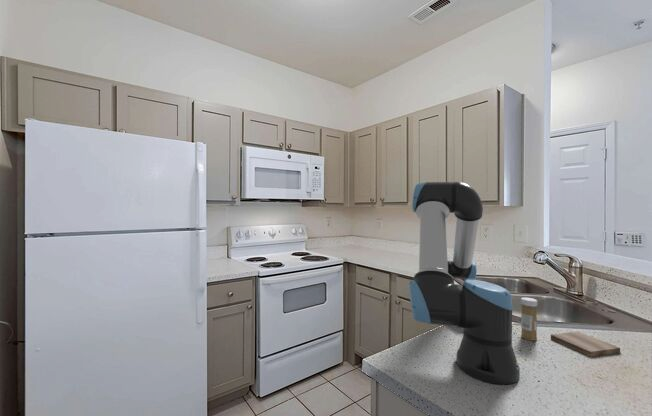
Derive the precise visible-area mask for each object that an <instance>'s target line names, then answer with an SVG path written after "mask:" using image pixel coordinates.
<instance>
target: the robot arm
mask: <svg viewBox="0 0 652 416" xmlns="http://www.w3.org/2000/svg"><path fill="white" fill-rule="evenodd" d="M411 206H412V212H414V213H416V217H417V218H419V254H418V255H419V259H418V260H419V261H418V271H417V272H416V273H415V274H414V276H413V279H412V280H408V289H409V299H410V311H411V317H412V318H413V319H414V320H415V321H416V322H419V323H424V324H428V325H439V326H446V327H447V326H448V327H453V328H454V327H455V328H462V329H463V336H462V338H461V342H460V344H459V347H458V349H457V351H456V355H455V356H456V362H455V363H456V365H457V366H458V368H459V369H460V370H461V371H463V373H465V374H467V375H468V376H471V377H473V378H474V379H477V380H480V381H483V382H486V383H491V384H495V385H511V384H515V383H516V382H519V380H520V378H521V377H520V376H521V375H520V374H521V373H520V365H519V363H518V361H517V357H516V354H515V351H514V348H513V310H514V306H513V299H512V294H511V292H510V291H509V290H508V289H507V288H505V287H504V286H500V285H498V284H495V283H491V282H487V281H483V280H480V279H479V280H478V279H476V278H477V266H476V265H477V264H476V263H475V262H473V258H474V251H475V246H476V238H477V232H478V225H479V221H480V220H481V219H482V217H483V211H484V207H483V201H482V199H481V198H480V196H479V193H478V192H477V191H476V190H475V189H474V188H472V186H471V185H468V184H467V183H465V182H462V181H447V182H446V181H435V182H433V181H432V182H430V181H429V182H428V181H426V182H418V183H416V185H415V187H414V190H413V195H412V205H411ZM450 213H452V214H453V213H454V217H455V218H456V225H455V235H454V245H453V246H454V247H453V248H454V249H453V257H452V261H451V260H448V248H447V247H448V245H447V229H446V228H447V227H446V219H447V218H448V217H449V215H450ZM454 279H456V280H463V281H464V282H462V284H455V280H454Z"/></svg>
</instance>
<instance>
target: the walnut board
mask: <svg viewBox="0 0 652 416" xmlns="http://www.w3.org/2000/svg"><path fill="white" fill-rule="evenodd" d="M550 340H552V341H554V342H557V343H559V344H561V345H563V346H566V347H568V348H570V349H572V350H575V351H577V352H579V353H581V354H584V355H585V356H588V357H590V358H591V357H600V356H605V355H606V356H607V355H613V354H621V347H619V346H617V345H613V344H611V343H608V342H606V341H604V340H600V339H598V338H595V337H593V336H590V335H588V334H585V333H583V332H580V331H573V332H563V333H552V334H550Z"/></svg>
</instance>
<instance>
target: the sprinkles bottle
mask: <svg viewBox="0 0 652 416" xmlns="http://www.w3.org/2000/svg"><path fill="white" fill-rule="evenodd" d="M520 305H521V313H520V314H521V316H520V324H521V325H520V327H521V334H520V336H521V338H523V339H524V340H527V341H532V342H533V341H537V340H538V337H537V332H538V331H537V330H538V322H537V321H538V320H537V319H538V317H537V313H538V312H537V306H538V299H535V298H532V297H521V298H520Z"/></svg>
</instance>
